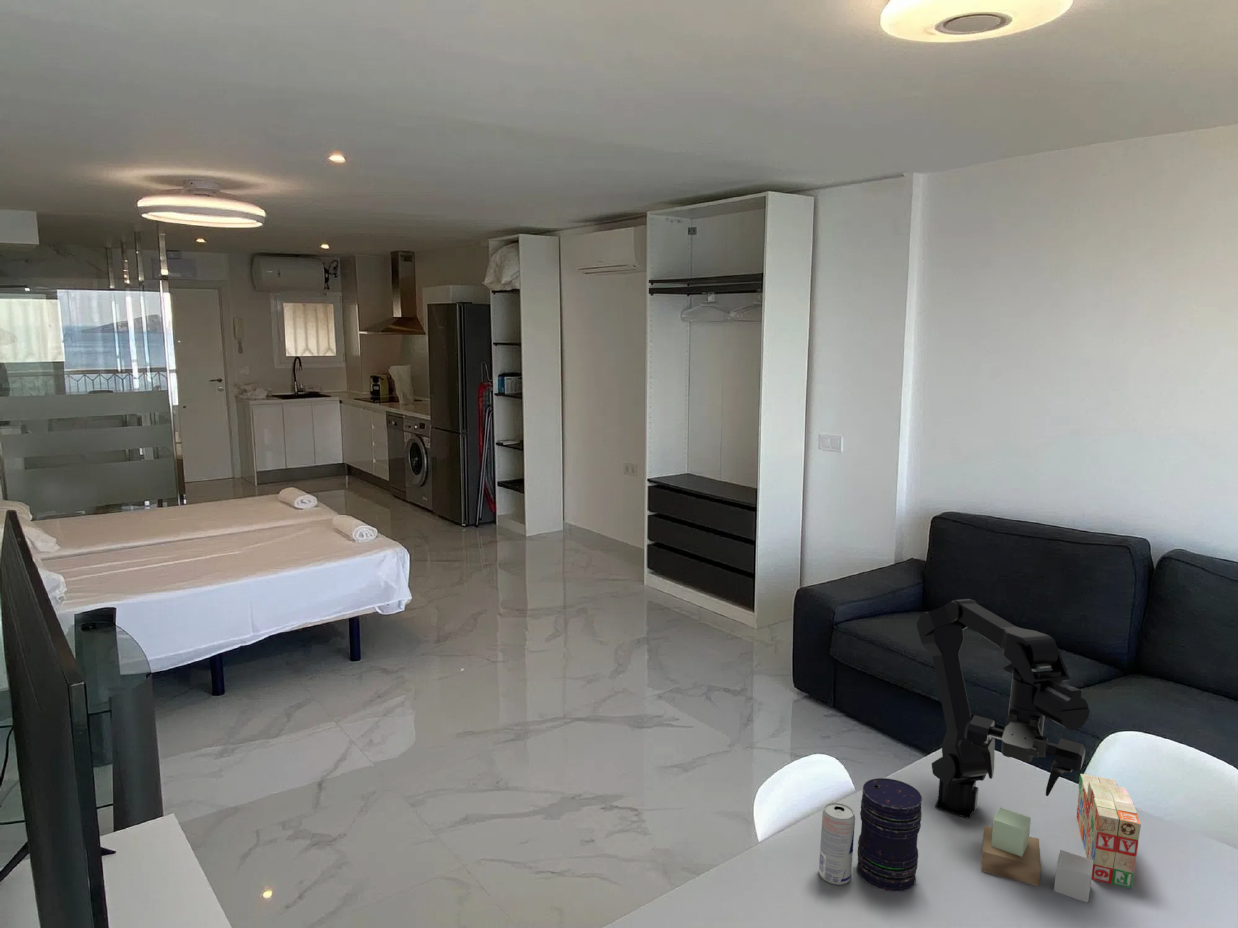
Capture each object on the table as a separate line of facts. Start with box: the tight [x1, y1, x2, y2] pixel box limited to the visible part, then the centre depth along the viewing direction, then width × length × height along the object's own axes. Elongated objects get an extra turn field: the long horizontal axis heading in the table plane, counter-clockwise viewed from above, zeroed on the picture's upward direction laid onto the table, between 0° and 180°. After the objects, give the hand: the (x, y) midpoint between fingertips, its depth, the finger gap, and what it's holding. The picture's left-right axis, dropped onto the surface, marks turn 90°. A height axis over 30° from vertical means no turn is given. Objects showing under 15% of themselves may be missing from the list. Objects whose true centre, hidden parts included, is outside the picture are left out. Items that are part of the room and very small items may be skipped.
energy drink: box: [818, 802, 856, 886], centre depth 139 cm, size 5×5×12 cm
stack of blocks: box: [1076, 773, 1142, 889], centre depth 148 cm, size 21×6×12 cm, turn 157°
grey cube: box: [1053, 849, 1093, 903], centre depth 137 cm, size 5×5×5 cm
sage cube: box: [991, 807, 1032, 857], centre depth 143 cm, size 5×5×5 cm
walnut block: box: [980, 824, 1042, 887], centre depth 144 cm, size 9×9×4 cm
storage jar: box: [856, 777, 923, 893], centre depth 139 cm, size 10×10×15 cm
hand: (1018, 786), depth 146 cm, fingers open, 9 cm apart
